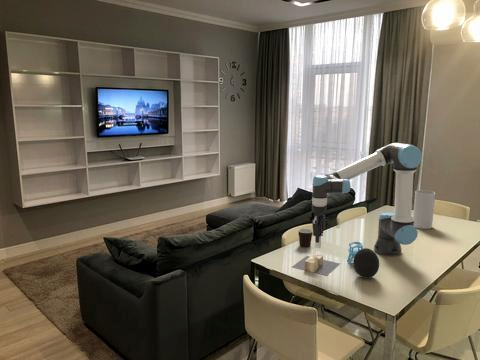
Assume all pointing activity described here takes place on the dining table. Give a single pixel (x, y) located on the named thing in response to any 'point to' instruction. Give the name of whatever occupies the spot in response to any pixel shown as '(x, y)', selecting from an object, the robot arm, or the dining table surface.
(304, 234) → the coffee mug
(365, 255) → the decorative egg
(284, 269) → the dining table surface
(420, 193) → the cylinder vase
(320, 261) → the wood block
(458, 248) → the dining table surface
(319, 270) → the mat
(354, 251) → the chair
